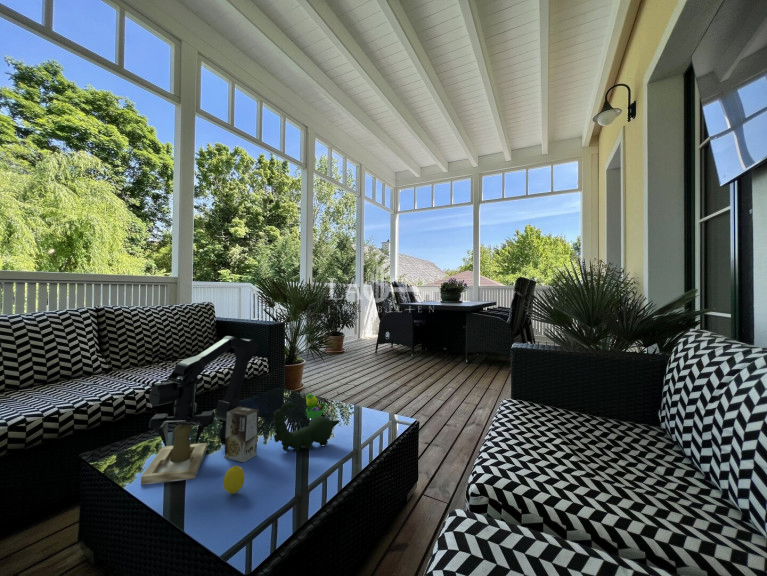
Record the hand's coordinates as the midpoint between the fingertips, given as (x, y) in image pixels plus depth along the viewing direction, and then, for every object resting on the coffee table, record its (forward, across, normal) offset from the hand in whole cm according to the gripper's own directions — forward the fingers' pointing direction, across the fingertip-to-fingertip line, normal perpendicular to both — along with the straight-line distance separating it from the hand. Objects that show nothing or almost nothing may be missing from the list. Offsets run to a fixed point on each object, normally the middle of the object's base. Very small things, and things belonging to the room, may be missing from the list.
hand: (181, 444), depth 111 cm
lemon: (+5, -19, +25) cm, 32 cm away
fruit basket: (+5, -49, -31) cm, 58 cm away
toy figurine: (+5, -42, 0) cm, 42 cm away
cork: (+5, 0, 0) cm, 5 cm away
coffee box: (+5, -19, +2) cm, 20 cm away
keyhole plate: (+5, 0, +4) cm, 6 cm away
